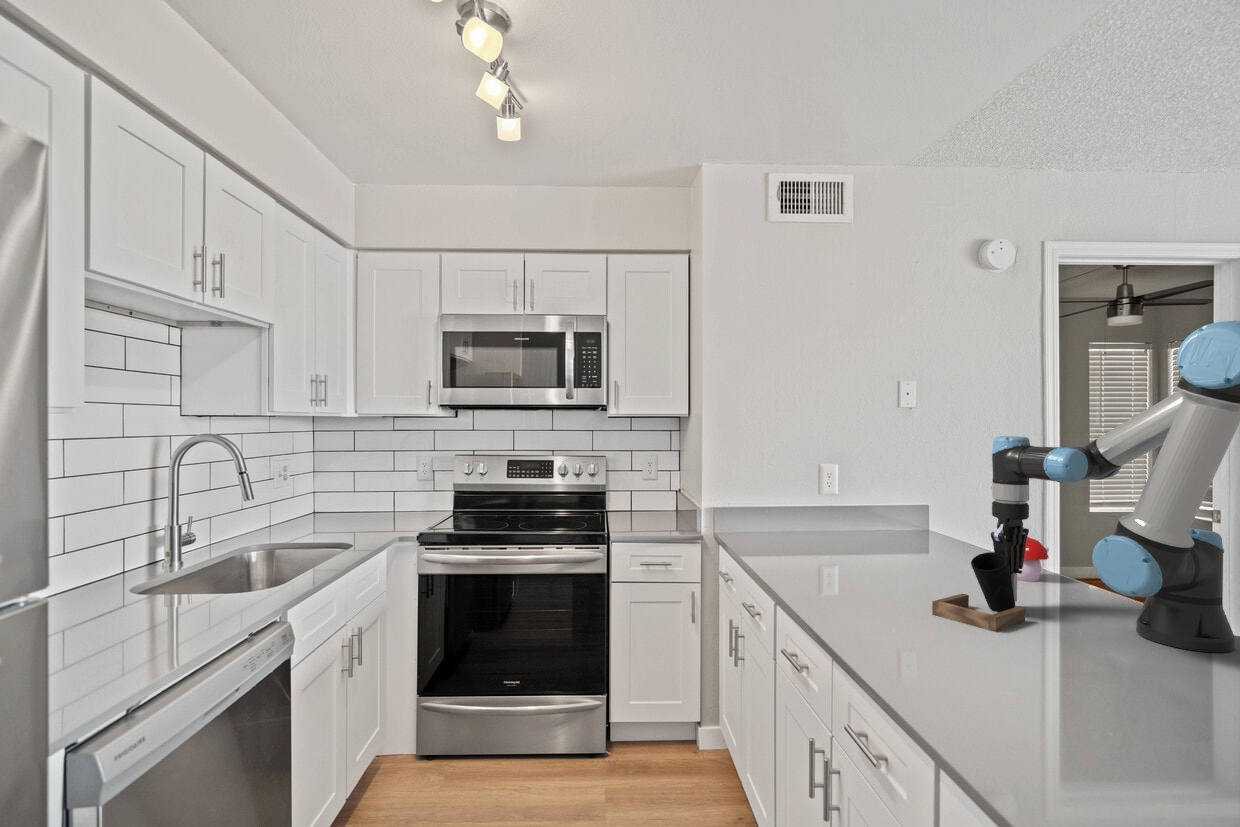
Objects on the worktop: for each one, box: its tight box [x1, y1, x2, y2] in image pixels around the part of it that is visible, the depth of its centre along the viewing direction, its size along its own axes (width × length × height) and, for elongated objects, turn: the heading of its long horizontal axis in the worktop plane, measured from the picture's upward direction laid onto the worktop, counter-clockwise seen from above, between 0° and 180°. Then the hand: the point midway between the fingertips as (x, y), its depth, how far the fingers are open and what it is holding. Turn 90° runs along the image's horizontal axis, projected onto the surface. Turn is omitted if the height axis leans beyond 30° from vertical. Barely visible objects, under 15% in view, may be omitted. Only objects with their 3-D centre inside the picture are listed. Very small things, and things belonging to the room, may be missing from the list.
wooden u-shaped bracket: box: [931, 593, 1026, 633], centre depth 145 cm, size 14×12×3 cm
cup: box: [970, 551, 1016, 613], centre depth 149 cm, size 8×8×12 cm
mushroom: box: [1017, 536, 1050, 583], centre depth 181 cm, size 11×11×12 cm
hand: (1009, 600), depth 153 cm, fingers closed
